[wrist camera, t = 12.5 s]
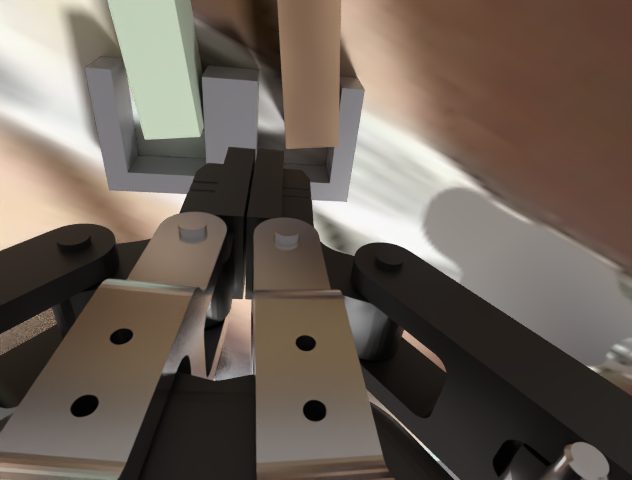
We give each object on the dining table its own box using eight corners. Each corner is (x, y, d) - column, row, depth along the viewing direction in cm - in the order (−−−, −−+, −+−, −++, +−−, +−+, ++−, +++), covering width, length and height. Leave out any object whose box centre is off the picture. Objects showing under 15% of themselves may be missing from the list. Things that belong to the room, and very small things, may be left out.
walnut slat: (332, -166, 23) (343, -188, 19) (330, 120, 33) (338, 146, 29) (268, -165, 23) (266, -188, 19) (285, 122, 32) (286, 148, 28)
